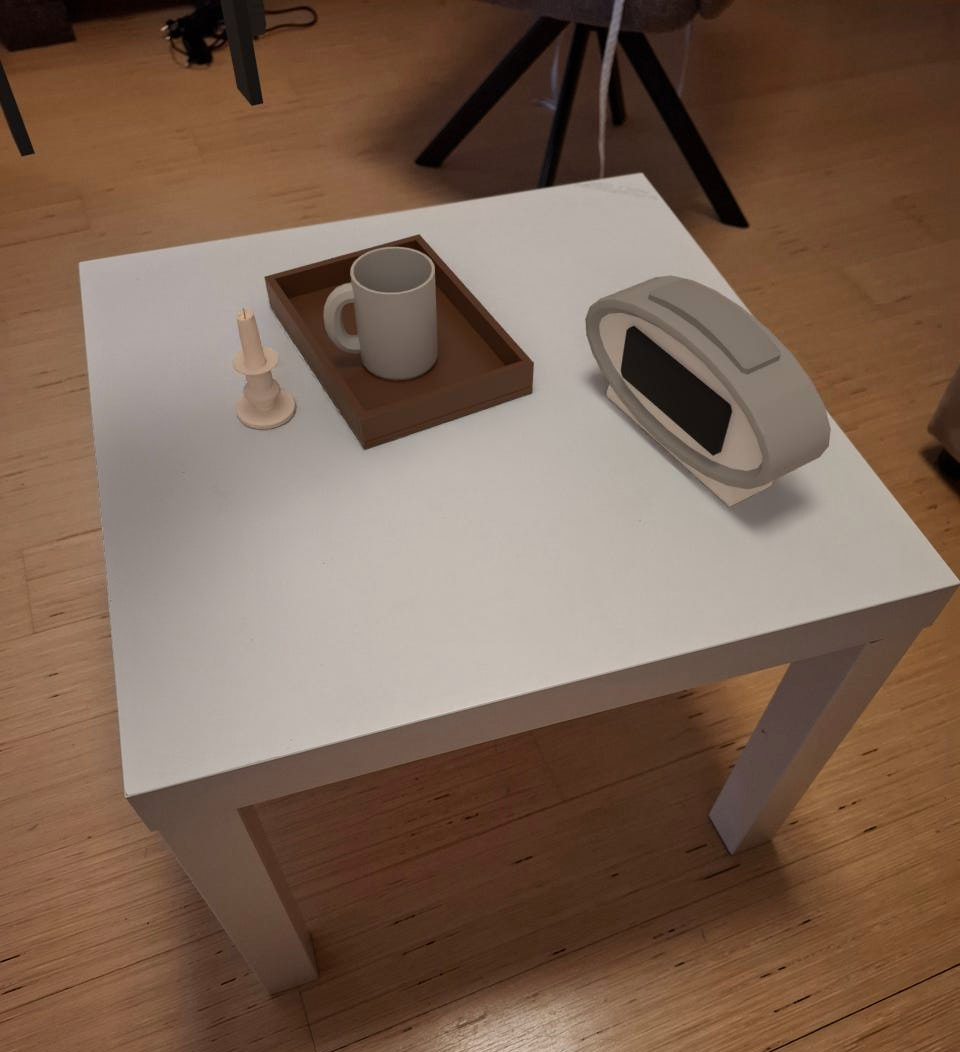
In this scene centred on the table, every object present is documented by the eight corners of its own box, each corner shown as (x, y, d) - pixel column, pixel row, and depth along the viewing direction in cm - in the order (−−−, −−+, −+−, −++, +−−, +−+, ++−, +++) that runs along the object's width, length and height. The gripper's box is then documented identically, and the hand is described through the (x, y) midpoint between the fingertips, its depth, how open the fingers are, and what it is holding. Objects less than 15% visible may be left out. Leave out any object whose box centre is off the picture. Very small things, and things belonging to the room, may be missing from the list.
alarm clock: (577, 379, 87) (590, 251, 76) (630, 357, 89) (650, 229, 78) (748, 535, 75) (791, 408, 65) (805, 506, 77) (855, 378, 67)
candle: (244, 435, 82) (218, 333, 74) (231, 399, 85) (204, 297, 76) (302, 421, 83) (283, 318, 75) (287, 386, 86) (267, 283, 78)
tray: (270, 306, 93) (263, 276, 91) (421, 263, 98) (419, 233, 95) (364, 450, 81) (360, 419, 78) (532, 393, 85) (534, 362, 83)
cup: (444, 377, 85) (441, 289, 78) (334, 390, 84) (321, 302, 77) (432, 330, 90) (428, 243, 83) (327, 342, 89) (314, 254, 81)
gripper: (-350, -386, 33) (-71, 198, 50) (310, -423, 40) (359, 101, 57) (-349, -411, 37) (-91, 138, 54) (251, -441, 44) (314, 54, 61)
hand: (140, 120), depth 56 cm, fingers open, 13 cm apart
